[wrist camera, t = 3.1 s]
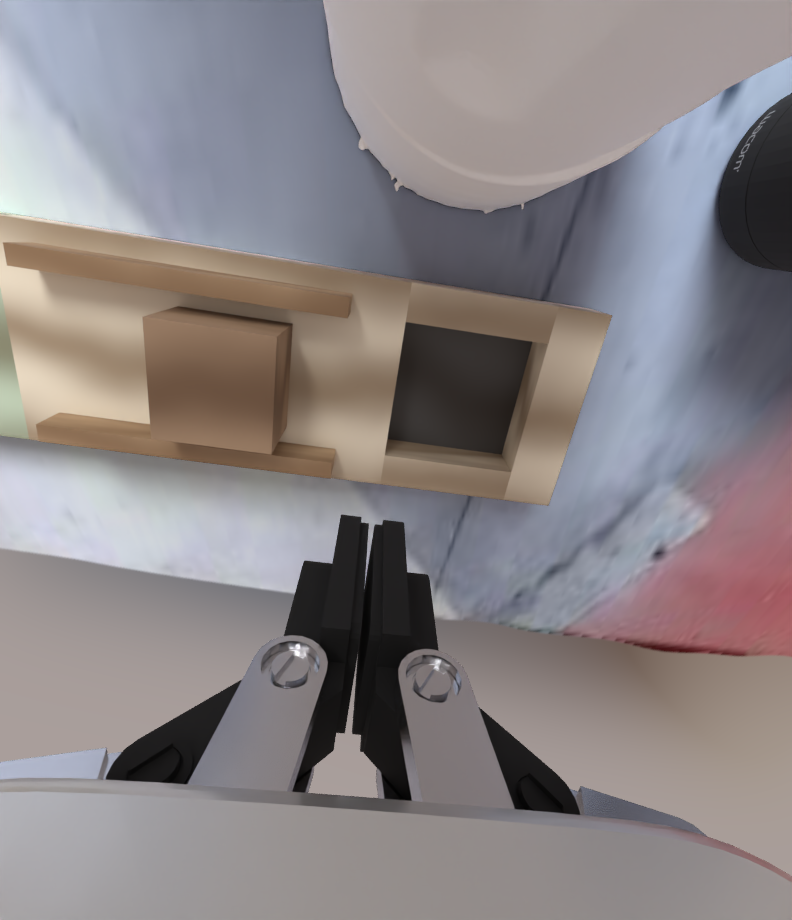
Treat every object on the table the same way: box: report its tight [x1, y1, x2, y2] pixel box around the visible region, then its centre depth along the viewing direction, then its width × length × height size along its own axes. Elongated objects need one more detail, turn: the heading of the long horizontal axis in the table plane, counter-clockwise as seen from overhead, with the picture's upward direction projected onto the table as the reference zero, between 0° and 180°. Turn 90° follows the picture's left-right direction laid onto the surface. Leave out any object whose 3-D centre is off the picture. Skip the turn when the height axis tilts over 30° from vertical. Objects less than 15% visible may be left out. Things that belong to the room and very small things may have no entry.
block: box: [142, 306, 293, 454], centre depth 24 cm, size 6×6×4 cm
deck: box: [0, 212, 612, 506], centre depth 26 cm, size 12×40×5 cm, turn 81°
